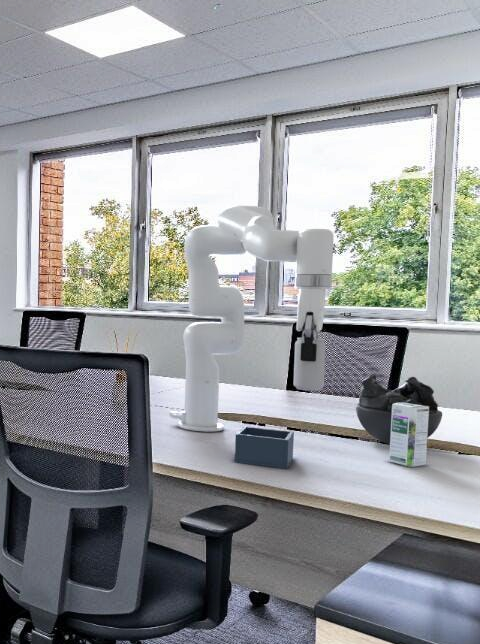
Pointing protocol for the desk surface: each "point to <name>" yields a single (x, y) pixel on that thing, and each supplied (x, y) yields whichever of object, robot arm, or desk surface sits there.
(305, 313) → the robot arm
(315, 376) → the beverage can
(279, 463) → the desk bin
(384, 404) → the bowl of black rocks
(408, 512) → the desk surface
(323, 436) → the desk surface
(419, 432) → the syrup box
